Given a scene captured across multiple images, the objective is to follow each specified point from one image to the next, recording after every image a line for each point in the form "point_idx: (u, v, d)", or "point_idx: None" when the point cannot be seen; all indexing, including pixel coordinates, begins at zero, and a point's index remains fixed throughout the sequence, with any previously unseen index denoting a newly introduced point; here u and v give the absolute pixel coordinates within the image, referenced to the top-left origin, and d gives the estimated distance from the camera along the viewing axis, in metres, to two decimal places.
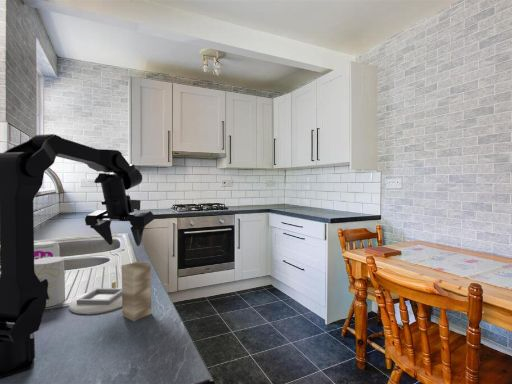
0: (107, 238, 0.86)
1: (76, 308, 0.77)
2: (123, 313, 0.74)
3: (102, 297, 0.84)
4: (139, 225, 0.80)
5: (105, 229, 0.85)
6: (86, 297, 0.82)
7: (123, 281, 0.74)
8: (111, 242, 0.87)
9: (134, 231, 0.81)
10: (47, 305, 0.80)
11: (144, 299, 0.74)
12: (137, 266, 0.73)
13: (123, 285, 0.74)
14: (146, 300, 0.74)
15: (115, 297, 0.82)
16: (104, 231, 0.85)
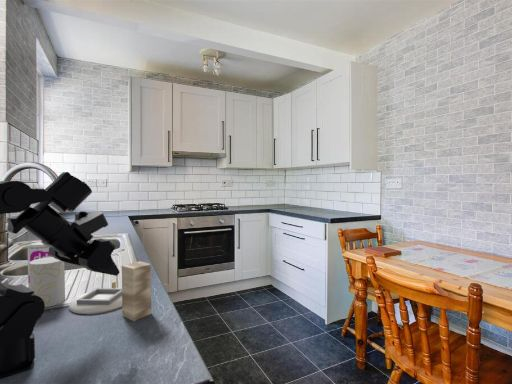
0: None
1: (76, 308, 0.77)
2: (123, 313, 0.74)
3: (102, 297, 0.84)
4: (90, 269, 0.57)
5: (78, 257, 0.68)
6: (86, 297, 0.82)
7: (123, 281, 0.74)
8: None
9: None
10: (47, 305, 0.80)
11: (144, 299, 0.74)
12: (137, 266, 0.73)
13: (123, 285, 0.74)
14: (146, 300, 0.74)
15: (115, 297, 0.82)
16: (77, 260, 0.67)
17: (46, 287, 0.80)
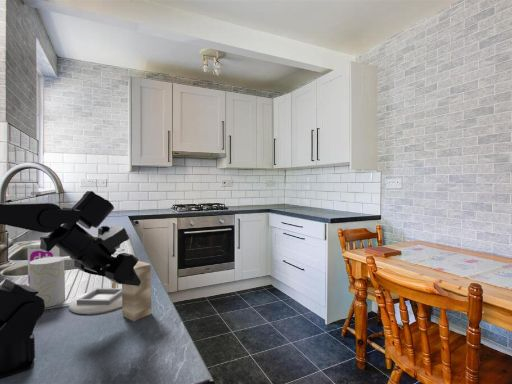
0: None
1: (76, 308, 0.77)
2: (123, 313, 0.74)
3: (102, 297, 0.84)
4: (116, 282, 0.62)
5: (101, 268, 0.72)
6: (86, 297, 0.82)
7: None
8: None
9: None
10: (47, 305, 0.80)
11: (144, 299, 0.74)
12: (137, 266, 0.73)
13: (123, 285, 0.74)
14: (146, 300, 0.74)
15: (115, 297, 0.82)
16: (100, 271, 0.72)
17: (46, 287, 0.80)
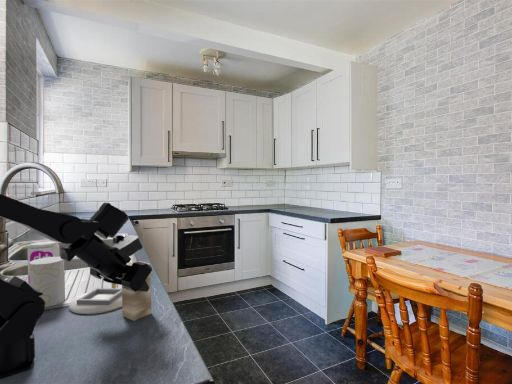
0: None
1: (76, 308, 0.77)
2: (123, 313, 0.74)
3: (102, 297, 0.84)
4: (132, 290, 0.65)
5: None
6: (86, 297, 0.82)
7: None
8: None
9: None
10: (47, 305, 0.80)
11: (144, 299, 0.74)
12: None
13: None
14: (146, 300, 0.74)
15: (115, 297, 0.82)
16: (118, 280, 0.74)
17: (46, 287, 0.80)
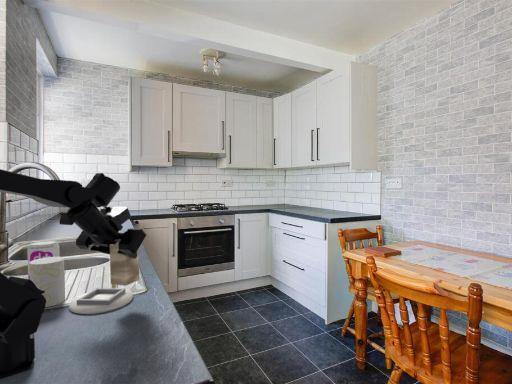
0: None
1: (76, 308, 0.77)
2: (112, 281, 0.78)
3: (102, 297, 0.84)
4: (130, 253, 0.70)
5: (107, 247, 0.78)
6: (86, 297, 0.82)
7: (111, 250, 0.77)
8: None
9: (122, 254, 0.73)
10: (47, 305, 0.80)
11: (133, 266, 0.79)
12: None
13: (111, 254, 0.77)
14: (134, 267, 0.79)
15: (115, 297, 0.82)
16: (106, 249, 0.77)
17: (46, 287, 0.80)
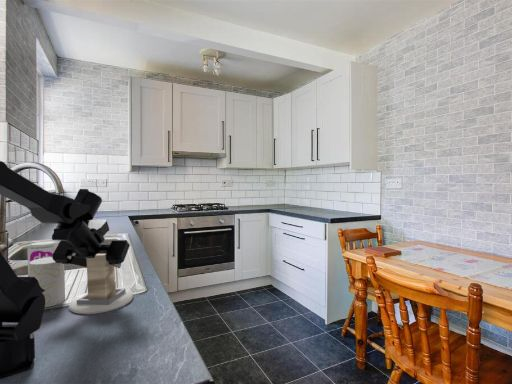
0: (83, 265, 0.82)
1: (76, 308, 0.77)
2: (89, 298, 0.81)
3: None
4: (118, 262, 0.76)
5: (78, 259, 0.80)
6: (86, 297, 0.82)
7: (89, 269, 0.81)
8: None
9: (113, 264, 0.78)
10: (47, 305, 0.80)
11: (111, 282, 0.84)
12: None
13: (89, 273, 0.81)
14: (112, 283, 0.84)
15: (115, 297, 0.82)
16: (78, 261, 0.80)
17: (46, 287, 0.80)
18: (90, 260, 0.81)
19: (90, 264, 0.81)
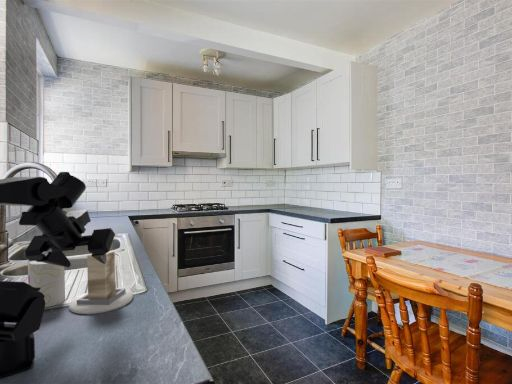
0: (63, 263, 0.72)
1: (76, 308, 0.77)
2: (89, 298, 0.81)
3: None
4: (102, 252, 0.67)
5: (56, 256, 0.71)
6: (86, 297, 0.82)
7: (89, 269, 0.81)
8: (69, 264, 0.74)
9: (97, 257, 0.69)
10: (47, 305, 0.80)
11: (111, 282, 0.84)
12: None
13: (90, 273, 0.81)
14: (112, 283, 0.84)
15: (115, 297, 0.82)
16: (56, 259, 0.70)
17: (46, 287, 0.80)
18: (91, 260, 0.81)
19: (91, 264, 0.81)
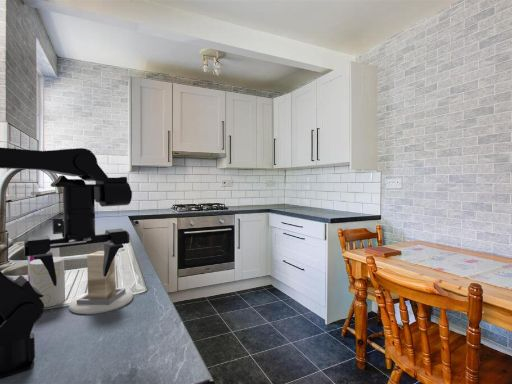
0: (55, 274, 0.59)
1: (76, 308, 0.77)
2: (89, 298, 0.81)
3: None
4: (124, 241, 0.65)
5: None
6: (86, 297, 0.82)
7: (89, 269, 0.81)
8: None
9: (113, 251, 0.64)
10: (47, 305, 0.80)
11: (111, 282, 0.84)
12: None
13: (90, 273, 0.81)
14: (112, 283, 0.84)
15: (115, 297, 0.82)
16: (53, 263, 0.58)
17: (46, 287, 0.80)
18: (91, 260, 0.81)
19: (91, 264, 0.81)
